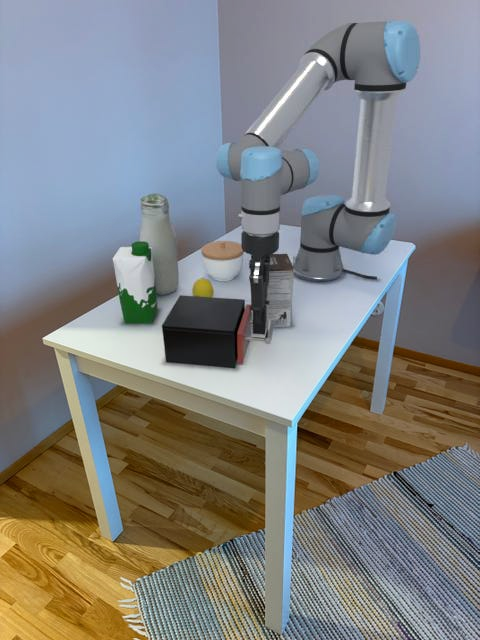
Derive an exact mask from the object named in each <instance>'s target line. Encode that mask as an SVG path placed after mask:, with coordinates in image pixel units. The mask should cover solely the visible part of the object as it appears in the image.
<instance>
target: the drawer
mask: <svg viewBox="0 0 480 640" xmlns="http://www.w3.org/2000/svg"><path fill="white" fill-rule="evenodd" d="M250 305H251V304H246V303H245V311H244V314H243V317H242V320H241V315H240V318H239V321H238V324H237V327H236V330H235V350H236V346H237V354H238V360H237V364H238V365H243V364H244V362H245V359H246V355H247V351H248V347H249V343H250V341H255V342H264V344H266V345H270V344H271V343H272V340H273V336H274V335H273V334H274V330H275V327H274V325H275V321H274V320H269V321H266V325H268V326H267V327H266V331H265V335H264V337H261V336H260V337H258V336H252V334H253V311H252V310H251V309H249V307H250Z"/></svg>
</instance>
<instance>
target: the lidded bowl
mask: <svg viewBox="0 0 480 640" xmlns="http://www.w3.org/2000/svg"><path fill="white" fill-rule="evenodd" d="M200 249H201V257H202V263H203V267H204V269H205V271H206V273H207V275H209V276H210V277H211V278H212V279H213V280H214V281H217V282H229V281H232V280H234V279H235V278H236V276H238V274H239V273H240V272H241V271H242V268H243V264H244V258H245V257H244V253H245V252H244V251H243V250H242V247H241V243H239V242H236V241H231V240H217V241H212V242H208V243H206V244H204V245H203V246H202V247H201V248H200Z"/></svg>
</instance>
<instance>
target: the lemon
mask: <svg viewBox="0 0 480 640" xmlns="http://www.w3.org/2000/svg"><path fill="white" fill-rule="evenodd" d="M192 296H198V297H213V298H214V287H213V284H212V282H211V281H210V280H209V279H207V278H204V277H201V278H198V279H197V280H196V281H194V284H193V285H192Z"/></svg>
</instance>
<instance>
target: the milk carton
mask: <svg viewBox="0 0 480 640" xmlns="http://www.w3.org/2000/svg"><path fill="white" fill-rule="evenodd" d="M112 263H113V267H114V268H113V269H114V274H115V275H114V276H115V280H116V287H117V292H118V297H119V304H120V308H121V313H122V317H123V323H124V324H153V323H154V320H155V317H156V315H157V312H158V294H157V293H156V285H155V276H154V268H153V258H152V247H149V245H148V243H147V242H144V241H139V240H138V241H135V242H133V243H131V246H120V247H119V248H118V250H117V251H116V253H115V254H114V255H113V257H112Z"/></svg>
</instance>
